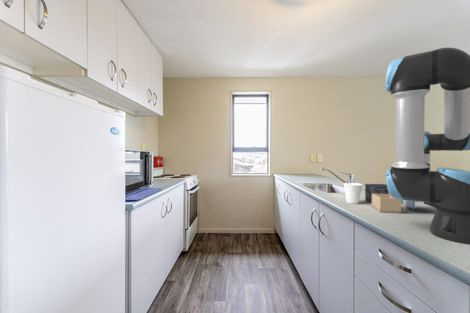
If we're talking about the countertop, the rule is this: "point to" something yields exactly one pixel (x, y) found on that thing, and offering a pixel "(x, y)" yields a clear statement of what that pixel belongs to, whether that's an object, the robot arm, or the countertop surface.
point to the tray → (386, 203)
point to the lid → (412, 203)
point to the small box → (374, 190)
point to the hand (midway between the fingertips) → (419, 205)
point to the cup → (352, 192)
